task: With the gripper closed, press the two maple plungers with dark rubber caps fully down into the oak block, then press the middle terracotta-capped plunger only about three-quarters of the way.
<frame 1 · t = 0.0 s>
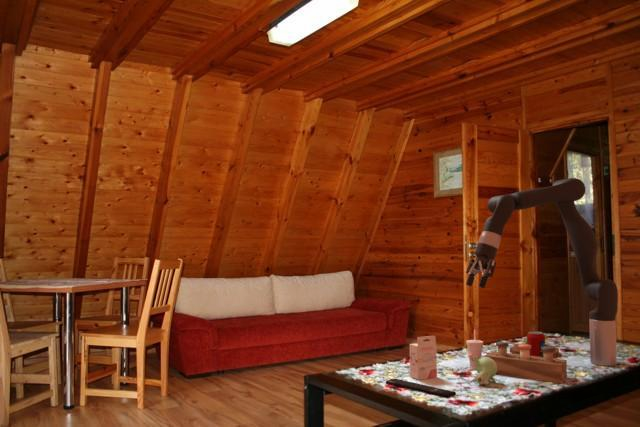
hand: (474, 286, 197), 31 cm above the table, tool tilted 20°, fingers open, 8 cm apart
plant: (534, 354, 231), on the table
plunger 1: (502, 352, 198), point 7 cm above the table, slide at 0.0 cm
plunger 2: (548, 357, 189), point 7 cm above the table, slide at 0.0 cm
frog: (483, 383, 182), on the table
smoothie: (475, 367, 205), on the table
beverage can: (536, 363, 212), on the table
remote control: (418, 391, 174), on the table
ink cartridge box: (423, 377, 190), on the table
oak block: (525, 374, 193), on the table
terracotta plunger: (524, 355, 193), point 7 cm above the table, slide at 0.0 cm
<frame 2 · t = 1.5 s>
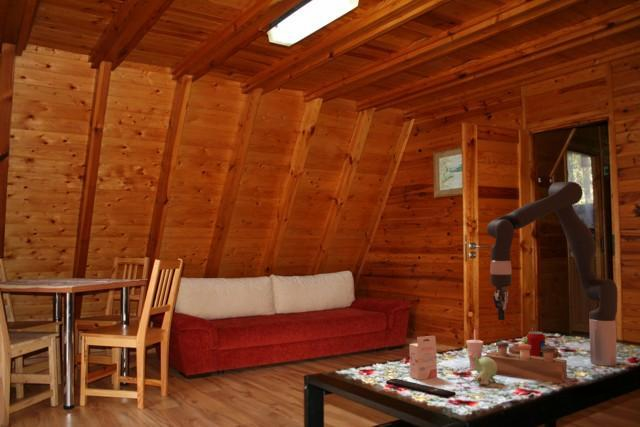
hand: (501, 319, 199), 19 cm above the table, tool pointing down, fingers closed
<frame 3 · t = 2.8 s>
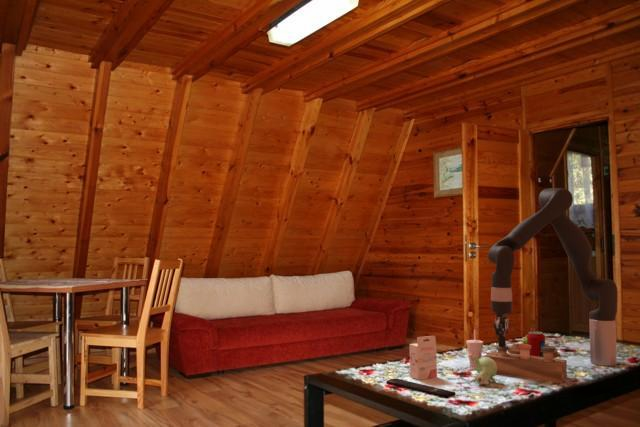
hand: (502, 346, 198), 9 cm above the table, tool pointing down, fingers closed
plunger 1: (502, 356, 198), point 6 cm above the table, slide at 1.4 cm, touching gripper
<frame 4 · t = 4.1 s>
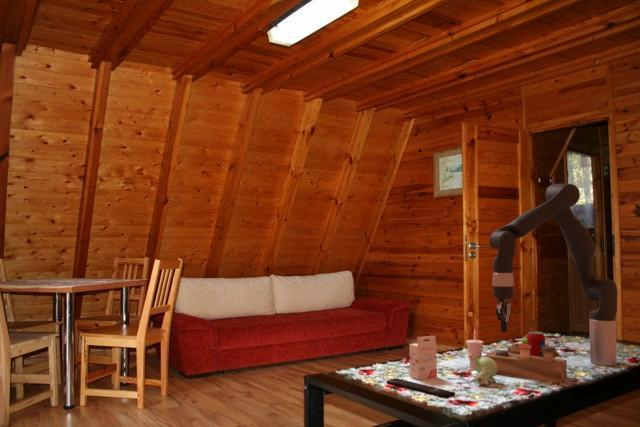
hand: (504, 331, 198), 15 cm above the table, tool pointing down, fingers closed
plunger 1: (502, 360, 198), point 4 cm above the table, slide at 3.0 cm
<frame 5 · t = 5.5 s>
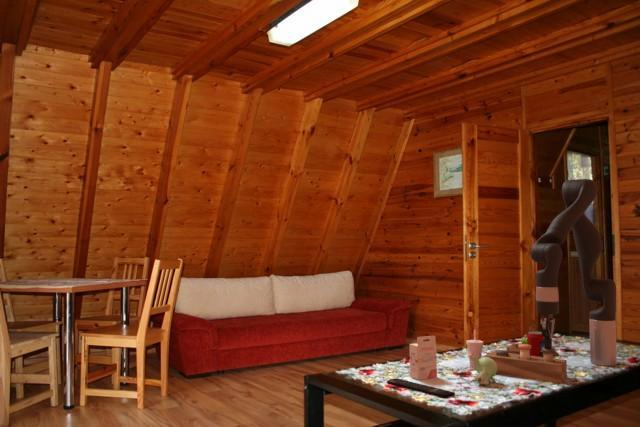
hand: (548, 348, 189), 10 cm above the table, tool pointing down, fingers closed
plunger 2: (548, 358, 189), point 7 cm above the table, slide at 0.4 cm, touching gripper
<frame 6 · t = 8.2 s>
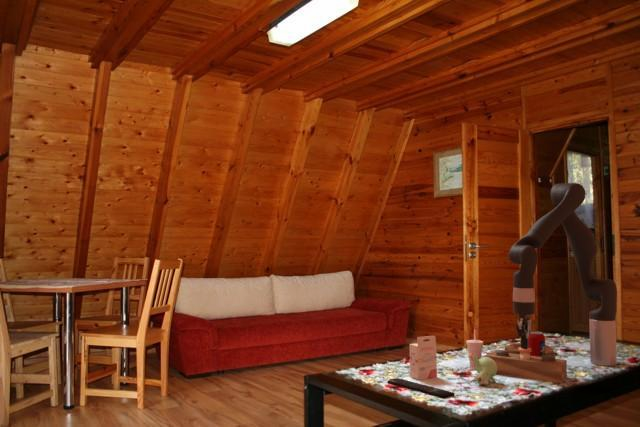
hand: (524, 348, 193), 9 cm above the table, tool pointing down, fingers closed
plunger 2: (548, 366, 189), point 4 cm above the table, slide at 3.0 cm
terracotta plunger: (524, 358, 193), point 6 cm above the table, slide at 1.1 cm, touching gripper
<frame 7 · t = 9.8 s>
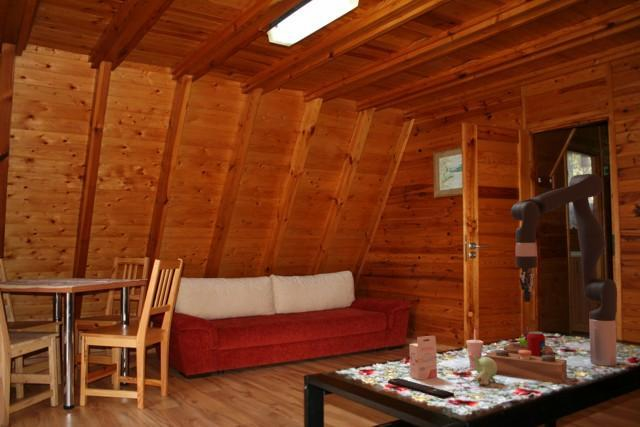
hand: (527, 301, 199), 26 cm above the table, tool pointing down, fingers closed
terracotta plunger: (524, 361, 193), point 5 cm above the table, slide at 2.1 cm
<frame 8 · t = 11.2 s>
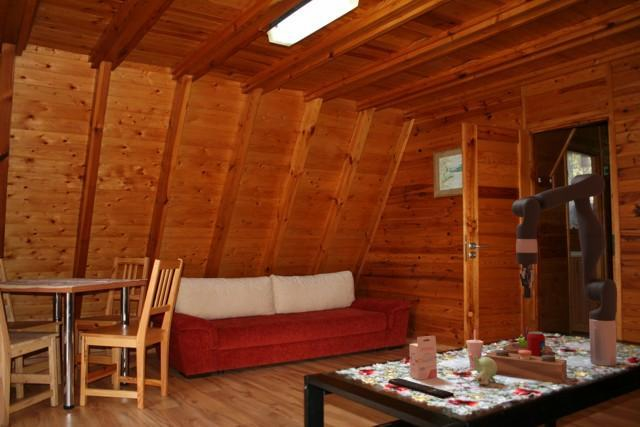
hand: (527, 298, 199), 27 cm above the table, tool pointing down, fingers closed
at the end: plunger 1 slide at 3.0 cm; plunger 2 slide at 3.0 cm; terracotta plunger slide at 2.1 cm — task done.
